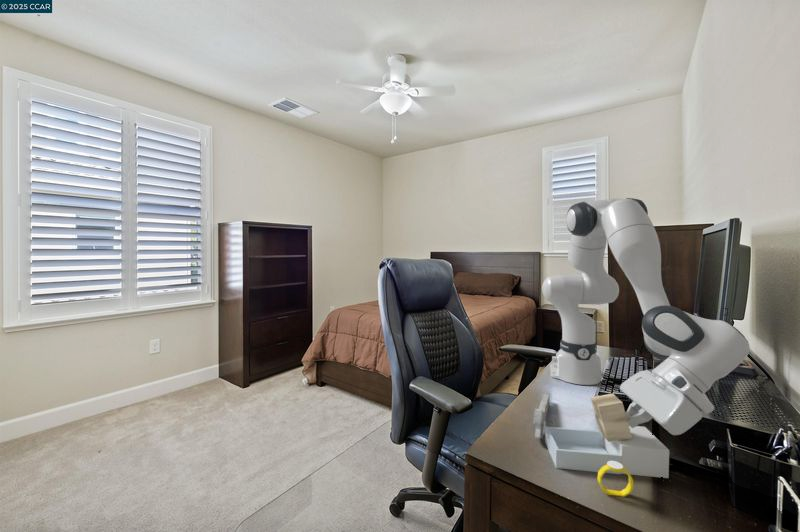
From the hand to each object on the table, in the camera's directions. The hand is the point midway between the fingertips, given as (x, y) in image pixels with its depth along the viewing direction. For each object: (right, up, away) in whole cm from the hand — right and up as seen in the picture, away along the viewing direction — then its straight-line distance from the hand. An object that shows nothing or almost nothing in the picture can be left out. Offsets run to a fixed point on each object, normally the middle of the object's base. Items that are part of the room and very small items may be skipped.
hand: (626, 422), depth 79 cm
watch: (-9, -10, -10) cm, 16 cm away
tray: (-9, -9, +2) cm, 13 cm away
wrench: (-11, -9, +19) cm, 24 cm away
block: (-2, -3, 0) cm, 4 cm away
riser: (+2, -9, 0) cm, 9 cm away
